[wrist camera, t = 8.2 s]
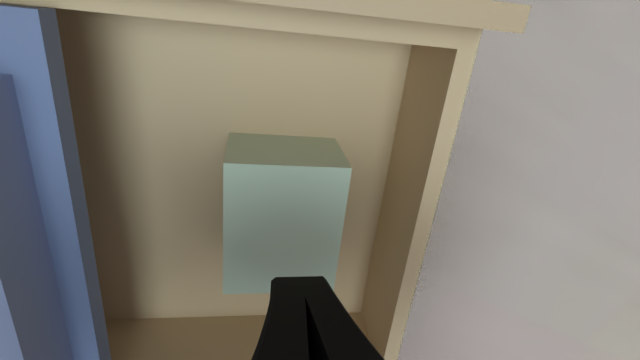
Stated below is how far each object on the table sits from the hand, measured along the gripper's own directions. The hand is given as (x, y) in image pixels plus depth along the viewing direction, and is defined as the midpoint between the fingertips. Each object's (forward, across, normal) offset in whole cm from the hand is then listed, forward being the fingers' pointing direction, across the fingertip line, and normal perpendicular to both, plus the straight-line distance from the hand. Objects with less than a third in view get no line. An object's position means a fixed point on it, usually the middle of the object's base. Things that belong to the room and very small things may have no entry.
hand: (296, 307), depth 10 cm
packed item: (+6, 0, 0) cm, 6 cm away
